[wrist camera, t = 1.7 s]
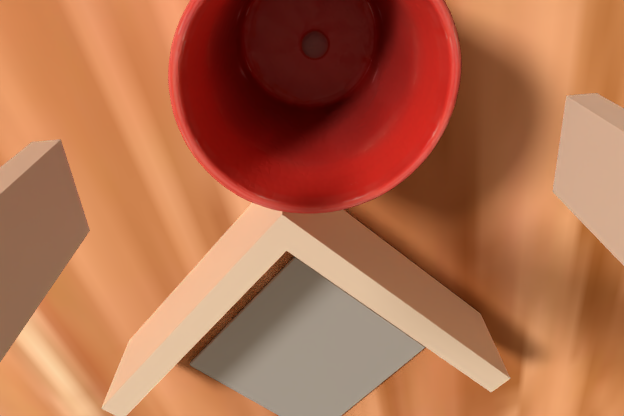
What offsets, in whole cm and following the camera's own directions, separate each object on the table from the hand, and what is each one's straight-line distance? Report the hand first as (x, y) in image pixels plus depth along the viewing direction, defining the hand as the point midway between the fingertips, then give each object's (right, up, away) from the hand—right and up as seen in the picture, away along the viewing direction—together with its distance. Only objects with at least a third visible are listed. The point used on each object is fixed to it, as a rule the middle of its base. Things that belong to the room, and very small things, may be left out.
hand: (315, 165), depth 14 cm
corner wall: (-1, -9, +23) cm, 25 cm away
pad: (-1, -12, +24) cm, 27 cm away
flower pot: (0, +8, +14) cm, 16 cm away
